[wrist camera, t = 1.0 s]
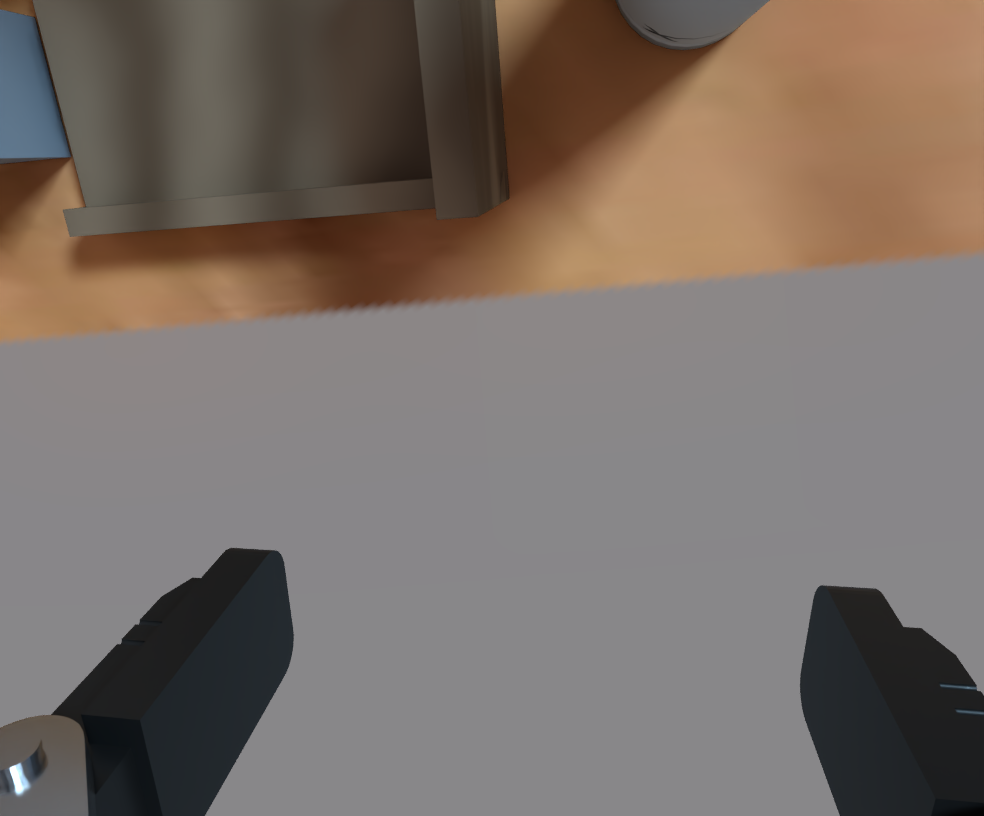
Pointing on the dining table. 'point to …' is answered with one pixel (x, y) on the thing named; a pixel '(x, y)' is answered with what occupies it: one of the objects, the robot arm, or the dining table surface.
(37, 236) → the dining table surface
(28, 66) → the caddy
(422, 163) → the shelf
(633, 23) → the travel mug
